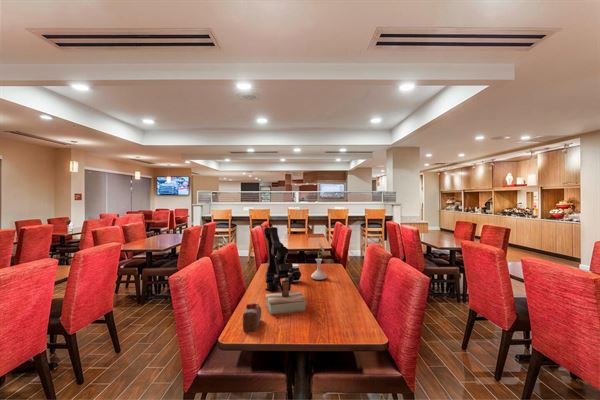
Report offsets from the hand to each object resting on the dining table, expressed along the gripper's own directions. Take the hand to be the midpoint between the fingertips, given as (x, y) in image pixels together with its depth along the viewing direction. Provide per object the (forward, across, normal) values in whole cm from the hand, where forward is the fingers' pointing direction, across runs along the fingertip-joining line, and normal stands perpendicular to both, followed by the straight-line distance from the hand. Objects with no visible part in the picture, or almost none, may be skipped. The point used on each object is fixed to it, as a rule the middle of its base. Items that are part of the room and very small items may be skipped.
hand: (286, 291), depth 160 cm
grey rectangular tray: (+6, 0, +8) cm, 10 cm away
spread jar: (-27, +16, +42) cm, 52 cm away
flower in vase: (-28, +37, +43) cm, 63 cm away
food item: (+17, -19, -3) cm, 26 cm away
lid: (+2, 0, +4) cm, 4 cm away
